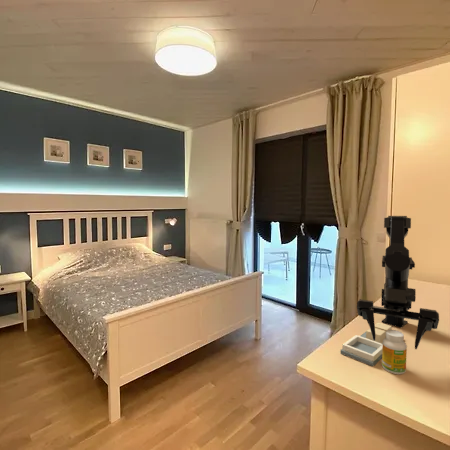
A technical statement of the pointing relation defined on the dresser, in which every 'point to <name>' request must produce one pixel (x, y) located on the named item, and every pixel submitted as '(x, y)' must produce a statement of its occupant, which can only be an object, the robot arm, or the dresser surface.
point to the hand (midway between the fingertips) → (394, 344)
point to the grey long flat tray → (366, 345)
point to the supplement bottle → (394, 352)
